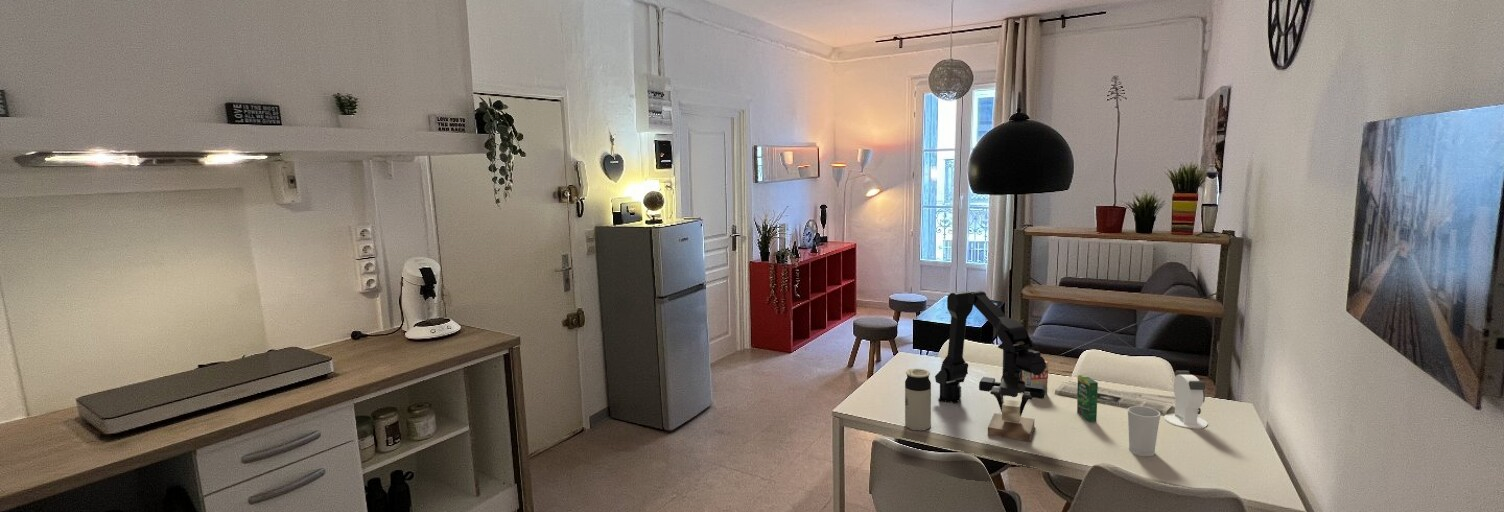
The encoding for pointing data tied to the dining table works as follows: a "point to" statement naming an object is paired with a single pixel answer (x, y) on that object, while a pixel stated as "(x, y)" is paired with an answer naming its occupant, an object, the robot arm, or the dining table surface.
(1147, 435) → the cup
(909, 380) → the travel mug
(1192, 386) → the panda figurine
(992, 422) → the walnut base slab
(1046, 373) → the stack of blocks
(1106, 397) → the newspaper
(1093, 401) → the coffee box
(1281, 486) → the dining table surface
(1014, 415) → the maple cube
